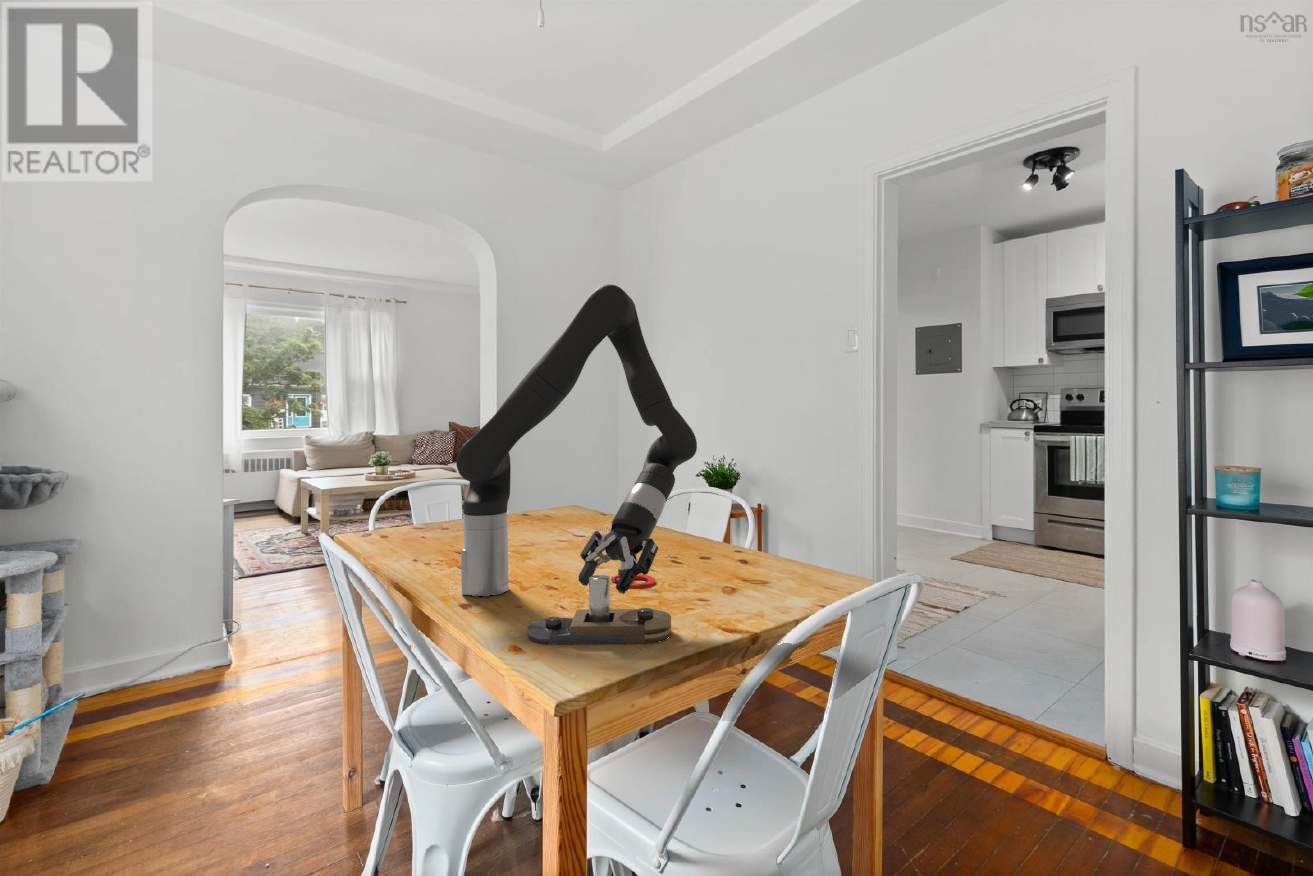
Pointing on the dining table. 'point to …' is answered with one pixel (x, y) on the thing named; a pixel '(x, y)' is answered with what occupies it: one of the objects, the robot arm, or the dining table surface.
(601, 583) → the steel pin
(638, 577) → the tow hook
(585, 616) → the square hole link plate
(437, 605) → the dining table surface
